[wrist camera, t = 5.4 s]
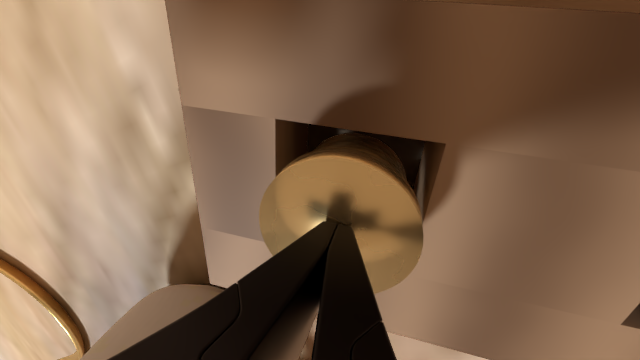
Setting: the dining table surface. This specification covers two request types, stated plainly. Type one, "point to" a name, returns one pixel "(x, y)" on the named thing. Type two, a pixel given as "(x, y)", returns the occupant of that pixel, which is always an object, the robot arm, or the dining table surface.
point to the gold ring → (46, 306)
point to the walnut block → (439, 154)
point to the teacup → (150, 317)
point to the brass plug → (349, 204)
